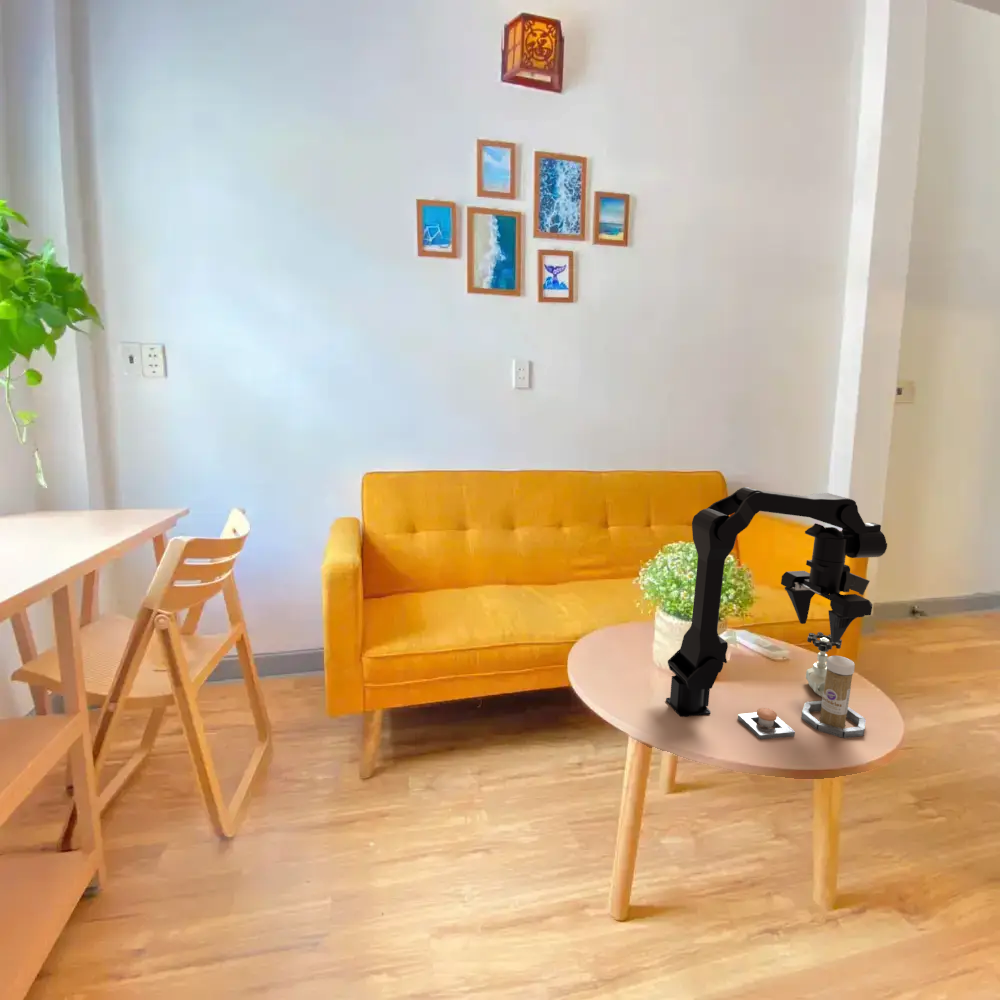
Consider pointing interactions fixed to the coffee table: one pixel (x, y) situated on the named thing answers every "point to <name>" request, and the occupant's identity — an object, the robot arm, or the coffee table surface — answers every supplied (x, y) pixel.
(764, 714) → the plunger
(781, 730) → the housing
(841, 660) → the sprinkles bottle
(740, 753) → the coffee table surface
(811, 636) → the valve
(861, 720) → the socket ring
